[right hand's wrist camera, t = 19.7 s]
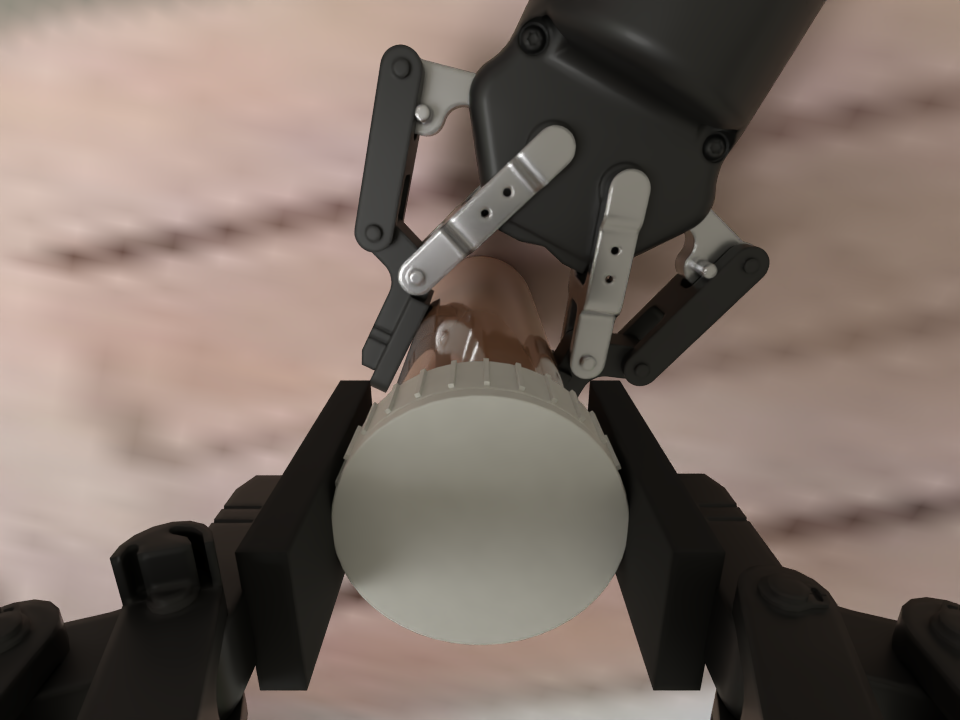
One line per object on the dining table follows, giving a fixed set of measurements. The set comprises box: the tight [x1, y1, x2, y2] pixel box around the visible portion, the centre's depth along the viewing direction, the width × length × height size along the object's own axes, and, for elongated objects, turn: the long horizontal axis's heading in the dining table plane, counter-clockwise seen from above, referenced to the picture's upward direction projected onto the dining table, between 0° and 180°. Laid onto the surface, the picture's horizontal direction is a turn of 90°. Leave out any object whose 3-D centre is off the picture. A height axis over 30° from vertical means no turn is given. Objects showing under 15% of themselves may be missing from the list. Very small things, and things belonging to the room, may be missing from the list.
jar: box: [397, 256, 565, 388], centre depth 19 cm, size 5×5×16 cm
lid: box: [331, 358, 629, 645], centre depth 11 cm, size 6×6×2 cm
